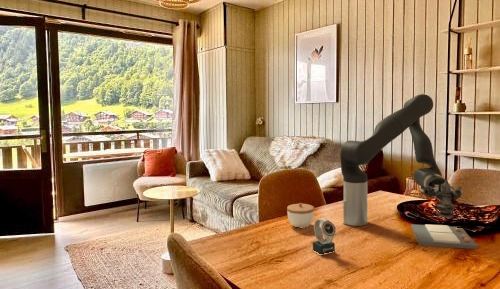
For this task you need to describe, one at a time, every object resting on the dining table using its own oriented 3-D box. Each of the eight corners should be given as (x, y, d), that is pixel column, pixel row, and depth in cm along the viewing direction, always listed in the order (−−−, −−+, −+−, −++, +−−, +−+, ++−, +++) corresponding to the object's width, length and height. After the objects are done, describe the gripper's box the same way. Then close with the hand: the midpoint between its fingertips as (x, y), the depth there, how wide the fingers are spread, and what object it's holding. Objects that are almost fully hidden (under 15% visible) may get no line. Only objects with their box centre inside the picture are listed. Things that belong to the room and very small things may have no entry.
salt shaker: (459, 217, 117) (459, 182, 116) (441, 218, 117) (441, 182, 116) (449, 212, 123) (450, 178, 122) (432, 212, 123) (432, 179, 122)
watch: (324, 258, 111) (323, 224, 110) (309, 249, 118) (309, 217, 117) (338, 254, 113) (338, 221, 112) (323, 246, 121) (323, 214, 120)
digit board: (419, 245, 119) (419, 238, 119) (411, 227, 136) (411, 221, 136) (477, 249, 114) (477, 242, 114) (461, 230, 131) (461, 224, 131)
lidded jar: (314, 222, 146) (314, 199, 145) (314, 231, 136) (314, 207, 135) (288, 221, 148) (287, 199, 147) (286, 230, 138) (285, 206, 137)
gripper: (415, 175, 135) (424, 185, 118) (457, 175, 131) (472, 186, 114) (415, 194, 135) (424, 207, 119) (457, 195, 131) (471, 209, 115)
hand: (447, 197), depth 117 cm, fingers closed on salt shaker, 3 cm apart
